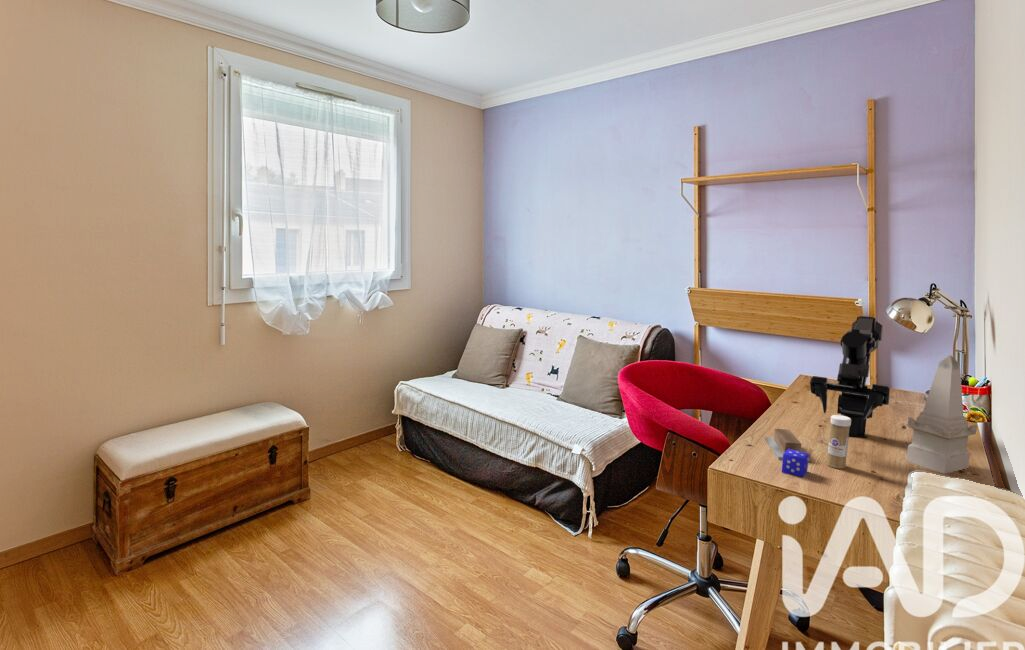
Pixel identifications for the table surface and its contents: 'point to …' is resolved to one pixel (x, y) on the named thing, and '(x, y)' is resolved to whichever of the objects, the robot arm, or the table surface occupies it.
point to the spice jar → (838, 441)
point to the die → (795, 462)
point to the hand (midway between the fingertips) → (843, 415)
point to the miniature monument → (942, 424)
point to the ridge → (783, 443)
